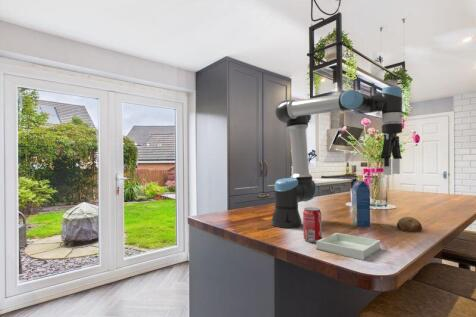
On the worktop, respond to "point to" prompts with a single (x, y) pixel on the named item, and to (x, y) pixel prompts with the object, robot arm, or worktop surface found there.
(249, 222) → the worktop surface
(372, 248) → the tray
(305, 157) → the robot arm
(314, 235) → the soda can
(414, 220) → the bread roll
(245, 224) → the worktop surface
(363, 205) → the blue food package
